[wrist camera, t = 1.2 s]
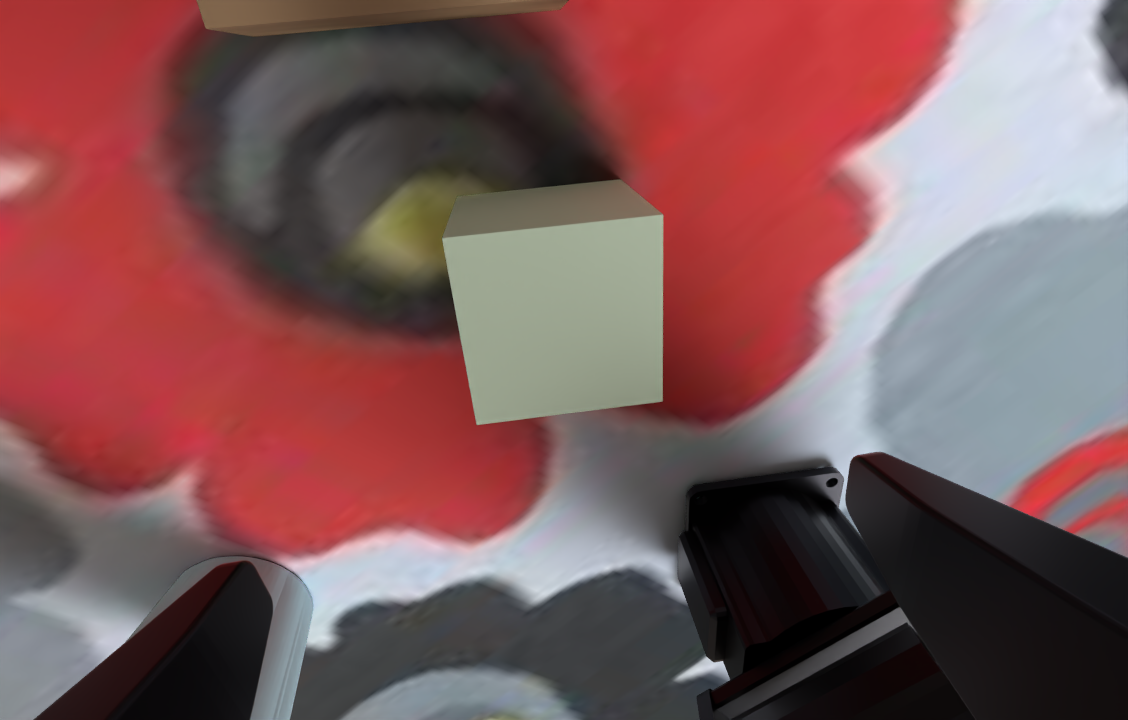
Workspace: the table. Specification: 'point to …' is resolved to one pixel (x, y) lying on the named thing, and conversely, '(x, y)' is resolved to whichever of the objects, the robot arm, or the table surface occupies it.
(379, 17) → the base brick
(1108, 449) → the table surface
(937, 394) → the table surface
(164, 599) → the cup
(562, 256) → the sage cube
